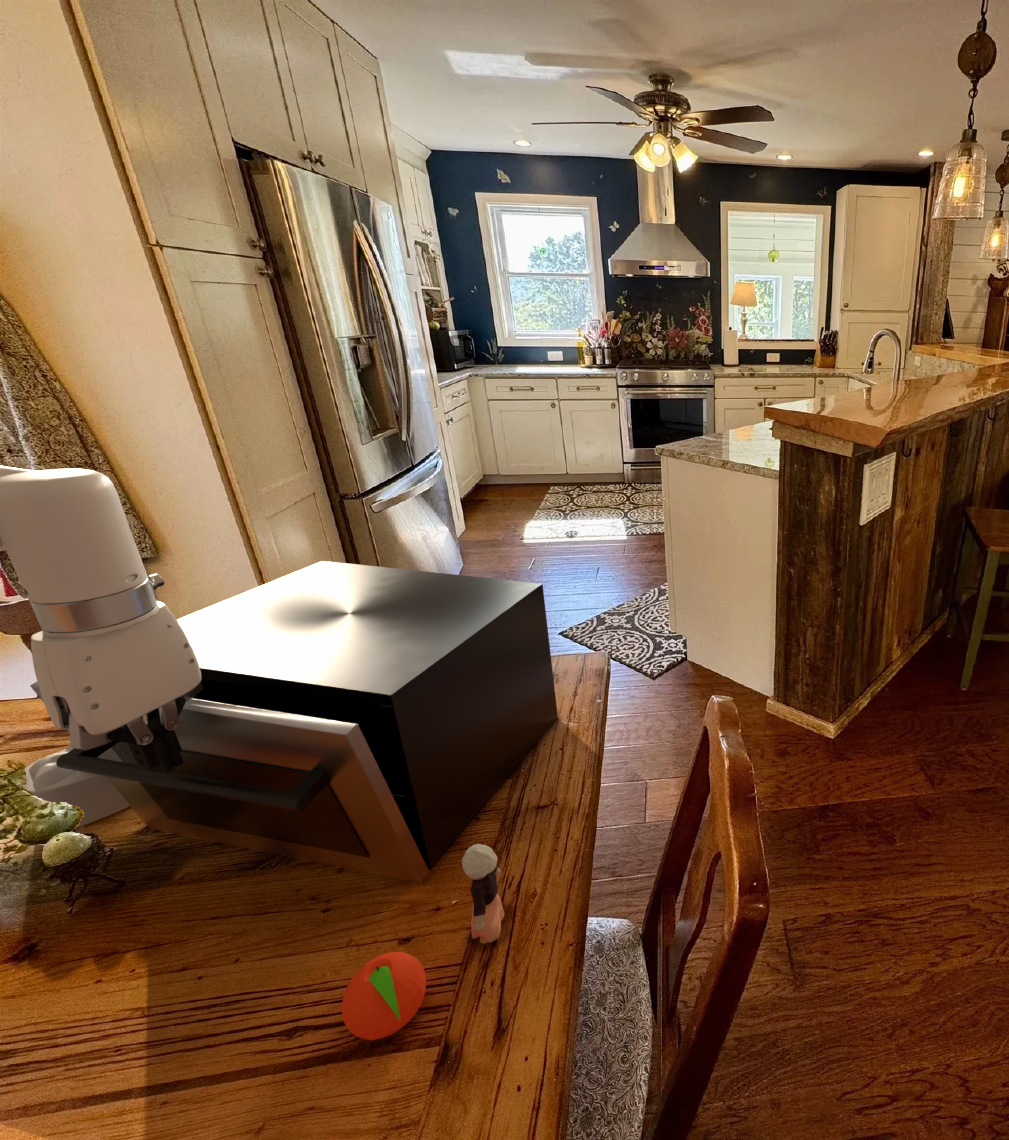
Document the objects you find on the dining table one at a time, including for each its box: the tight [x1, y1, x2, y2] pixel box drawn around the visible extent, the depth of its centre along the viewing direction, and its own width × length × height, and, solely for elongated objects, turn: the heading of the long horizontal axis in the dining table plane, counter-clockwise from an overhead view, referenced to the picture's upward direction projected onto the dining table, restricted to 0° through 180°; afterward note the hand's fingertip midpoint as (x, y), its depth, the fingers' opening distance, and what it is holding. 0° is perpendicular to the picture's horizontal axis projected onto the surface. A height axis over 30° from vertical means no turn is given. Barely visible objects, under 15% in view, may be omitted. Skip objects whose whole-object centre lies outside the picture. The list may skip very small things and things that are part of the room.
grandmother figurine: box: [461, 843, 505, 944], centre depth 65 cm, size 8×4×13 cm, turn 21°
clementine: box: [341, 951, 427, 1041], centre depth 58 cm, size 8×7×7 cm
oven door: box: [29, 681, 430, 883], centre depth 69 cm, size 6×40×26 cm, turn 79°
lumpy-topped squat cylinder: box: [24, 743, 131, 828], centre depth 83 cm, size 10×13×9 cm
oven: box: [176, 560, 559, 870], centre depth 88 cm, size 32×40×26 cm
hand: (163, 766), depth 62 cm, fingers closed
